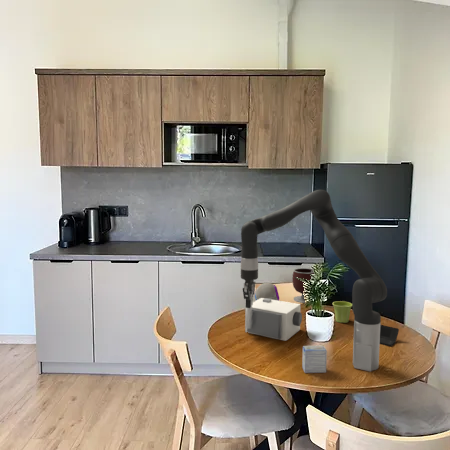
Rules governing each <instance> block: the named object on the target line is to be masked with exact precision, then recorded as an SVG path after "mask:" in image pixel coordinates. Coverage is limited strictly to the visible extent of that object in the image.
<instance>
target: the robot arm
mask: <svg viewBox="0 0 450 450" xmlns="http://www.w3.org/2000/svg"><path fill="white" fill-rule="evenodd" d="M309 211H310V212H311V214H312V215H313V217H314V218H315V219H316V220H317V222H318V224H319V225H320V226H321V228H322V230H323V231H324V234H325V236H326V238H327V239H326V240H327V241H328V243H329V245H330V247H331V249H332V250H333V252H334V254H335V255H336V257H337V258H338V259H339V260H340V261H341V262H343V263H344V264H345V265H347V266H348V267H349V268H350V269H352V270H353V271H354V272H355V273H356V274H357V275H358V277H359V279H356V281H354V283H353V286H352V290H351V291H352V292H351V293H352V294H351V297H352V300H351V301H352V312H353V316H354V321H353V322H354V323H353V344H352V345H353V347H352V365H353V368H354V369H357V370H362V371H366V372H373V371H376V370H378V369H379V367H380V366H379V365H380V363H379V362H380V361H379V360H380V345H381V344H380V325H382V324H381V322H382V321H381V318H382V316H381V314H380V313H379V312H377V311H375V310H373V303H375V304H376V303H378V302H382V301H384V300H385V299H387V296H388V289H387V285H386V284H385V282H384V280H383V278H382V277H381V276H380V275H379V273H378V272H377V271H376V270H375V268H374V267H373V265H372V264H371V263H370V262H369V260H368V258H367V257H366V255H365V253H364V251H362V249H361V248H360V246H359V244H358V242H357V240H356V238H354V236H353V234H352V233H351V231H350V230H349V229H348V228H347V227H346V226H345V225H344V224H343V223H342V222H341V221H340V220H339V218H338V216H337V214H336V212H335V211H334V207H333V205H332V200H331V196H330V193H329V192H328V191H326V190H325V189H315V190H314V191H312V192H309V193H308V194H306V195H304V196H302V197H300V198H299V199H297V200H296V201H294V202H292V203H289V204H288V205H287V206H284V207H282V208H280V209H277V210H275V211H272V212H270V213H267V214H265V215H263V216H261V217H257V218H254V219H251V220H248V221H246V222H244V224H243V225H242V227H241V229H240V237H241V252H240V253H241V258H240V279H242V280H244V283H243V287H242V293H243V300H245V306H246V308H250V307H251V294H252V305H253V302H254V299H253V298H254V296H255V291H256V280H258V279H259V257H258V254H259V253H258V252H259V249H258V235H260V234H263V233H265V232H271V231H273V230H276V229H278V228H281V227H283V226H285V225H287V224H289V223H290V222H291V221H293V220H294V219H295V218H296V217H298V216H299V215H301V214H303V213H305V212H309ZM247 295H248V296H247Z"/></svg>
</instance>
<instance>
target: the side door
mask: <svg viewBox="0 0 450 450" xmlns="http://www.w3.org/2000/svg"><path fill="white" fill-rule="evenodd" d="M247 296H248V295H247ZM252 298H253V297H252V294H251V307H250V308H246V328H247V332H250V333H249V334H252V333H255V334H254V335H257V334H259V335H258V336H261V335H264V336H263V337H266V336H269V337H268V338H271V337H274V338H273V339H275V338H278V339H277V340H280V339H281V320H282V314H276V313H271V312H265V311H260V310H254V309H252ZM247 332H246V333H247Z"/></svg>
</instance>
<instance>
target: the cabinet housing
mask: <svg viewBox="0 0 450 450" xmlns="http://www.w3.org/2000/svg"><path fill="white" fill-rule="evenodd" d="M301 305H302V303H301V304H300V303H297V302H296V303H294V302H289V301H282V300H279V301H278V300H272V299H268V298H260V299H258V300H256V299H255V301H254V300H253V305H252V309H254V310H260V311H265V312H271V313H276V314H282V320H281V339H278V338H274V337H269V336H264V335H259V334H255V333H250V332H248V333H249V334H253V335H257V336H262V337H267V338H270V339H275V340H280V341H284V342H285V341H288V340H289V339H290V338H291V337H293V336H294V335H295V334H297V333H298V332H299V331H300V330H301V323H302V321H303V314H302V312H301V307H302V306H301ZM244 307H245V313H244V314H245V315H244V321H245V322H244V324H245V325H244V329H245V330H244V332H245V333H247V328H246V305H245V306H244Z"/></svg>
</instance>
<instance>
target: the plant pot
mask: <svg viewBox="0 0 450 450" xmlns="http://www.w3.org/2000/svg"><path fill="white" fill-rule="evenodd" d="M332 306H333V309H334V317H335V322H337V323H344V324H346V323H349V322H350V321H349V320H350V314H351V309H352V307H353V303H351V302H349V301H345V300H342V301H341V300H340V301H333V302H332Z"/></svg>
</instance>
